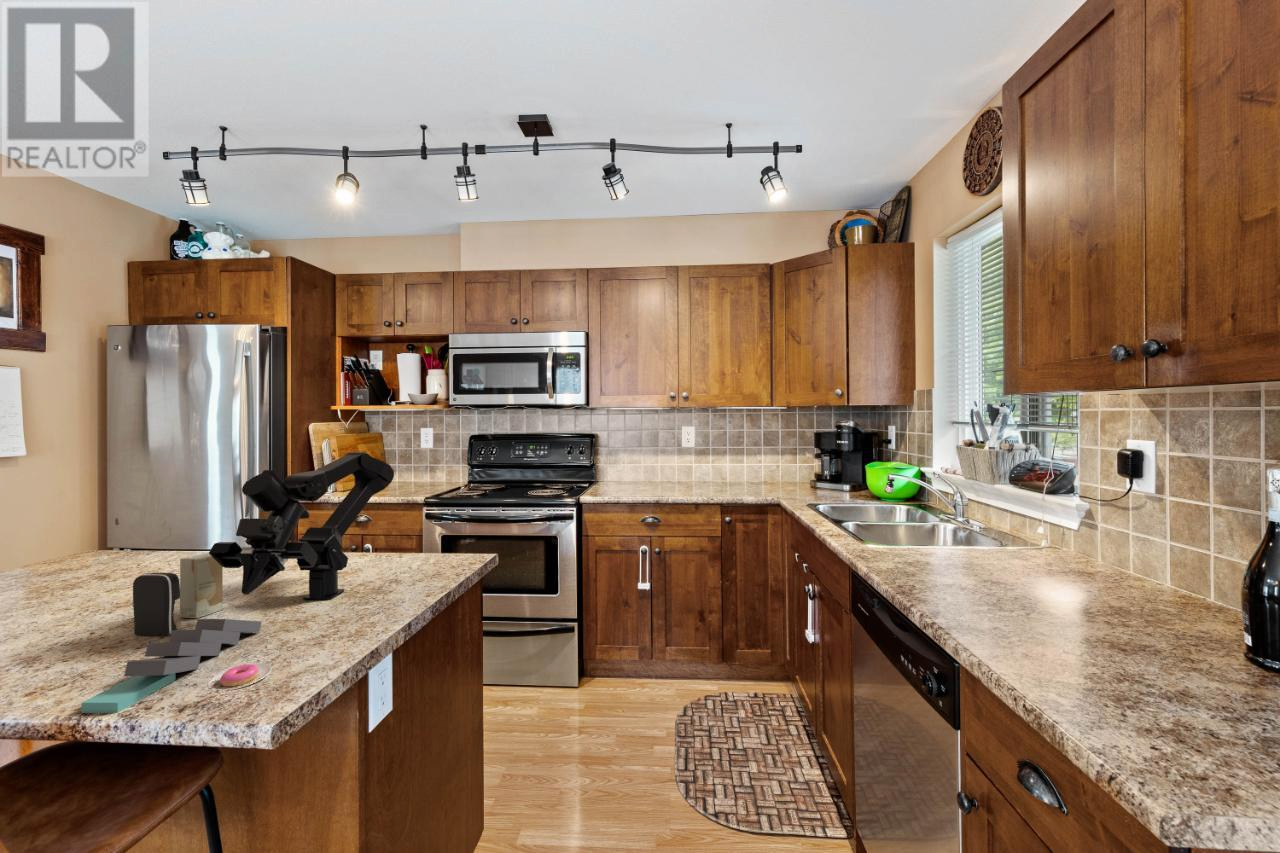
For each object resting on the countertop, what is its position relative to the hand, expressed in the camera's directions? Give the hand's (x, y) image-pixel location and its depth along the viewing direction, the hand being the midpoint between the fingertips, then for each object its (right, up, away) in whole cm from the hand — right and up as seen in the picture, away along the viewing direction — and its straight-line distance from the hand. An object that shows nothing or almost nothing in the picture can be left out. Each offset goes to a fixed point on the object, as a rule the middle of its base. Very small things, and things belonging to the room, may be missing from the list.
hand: (244, 593), depth 110 cm
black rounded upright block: (-17, -8, +1) cm, 19 cm away
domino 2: (+1, -7, -16) cm, 17 cm away
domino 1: (0, -7, -20) cm, 21 cm away
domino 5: (0, -7, +1) cm, 7 cm away
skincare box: (-17, -8, +12) cm, 22 cm away
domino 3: (0, -7, -10) cm, 12 cm away
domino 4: (0, -7, -5) cm, 8 cm away
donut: (+13, -8, -18) cm, 24 cm away
